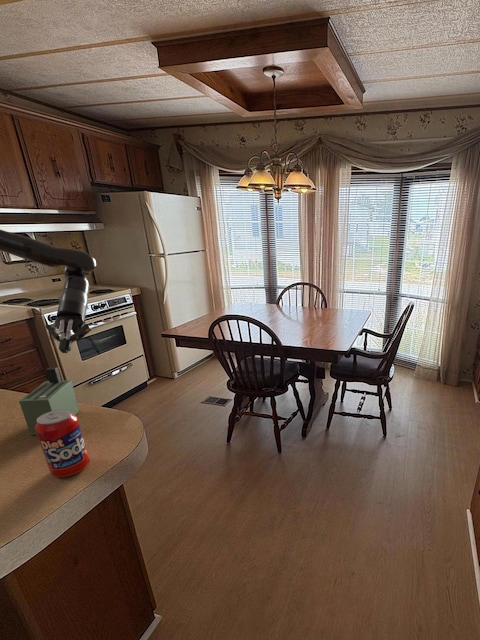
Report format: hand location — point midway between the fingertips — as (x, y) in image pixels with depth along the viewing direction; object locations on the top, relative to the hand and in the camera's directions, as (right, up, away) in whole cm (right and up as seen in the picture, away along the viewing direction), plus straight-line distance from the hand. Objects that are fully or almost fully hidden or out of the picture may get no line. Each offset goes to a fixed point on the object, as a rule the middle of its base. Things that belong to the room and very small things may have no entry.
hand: (64, 352), depth 108 cm
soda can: (+20, -30, -24) cm, 43 cm away
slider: (+1, -9, -5) cm, 11 cm away
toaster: (+2, -22, -6) cm, 22 cm away
